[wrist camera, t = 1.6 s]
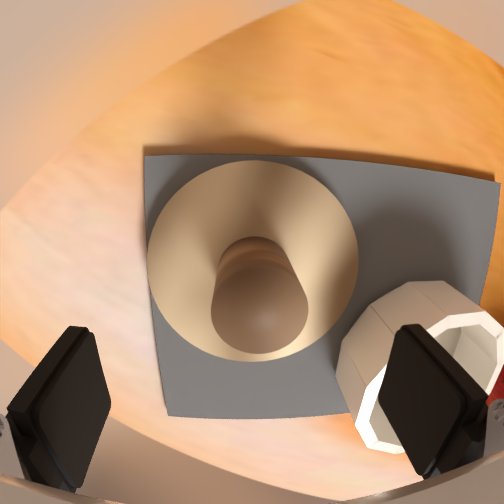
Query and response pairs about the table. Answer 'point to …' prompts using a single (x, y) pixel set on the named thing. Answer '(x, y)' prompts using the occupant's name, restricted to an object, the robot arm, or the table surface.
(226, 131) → the table surface
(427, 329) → the bowl
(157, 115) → the table surface
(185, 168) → the mat
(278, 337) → the lid
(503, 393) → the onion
